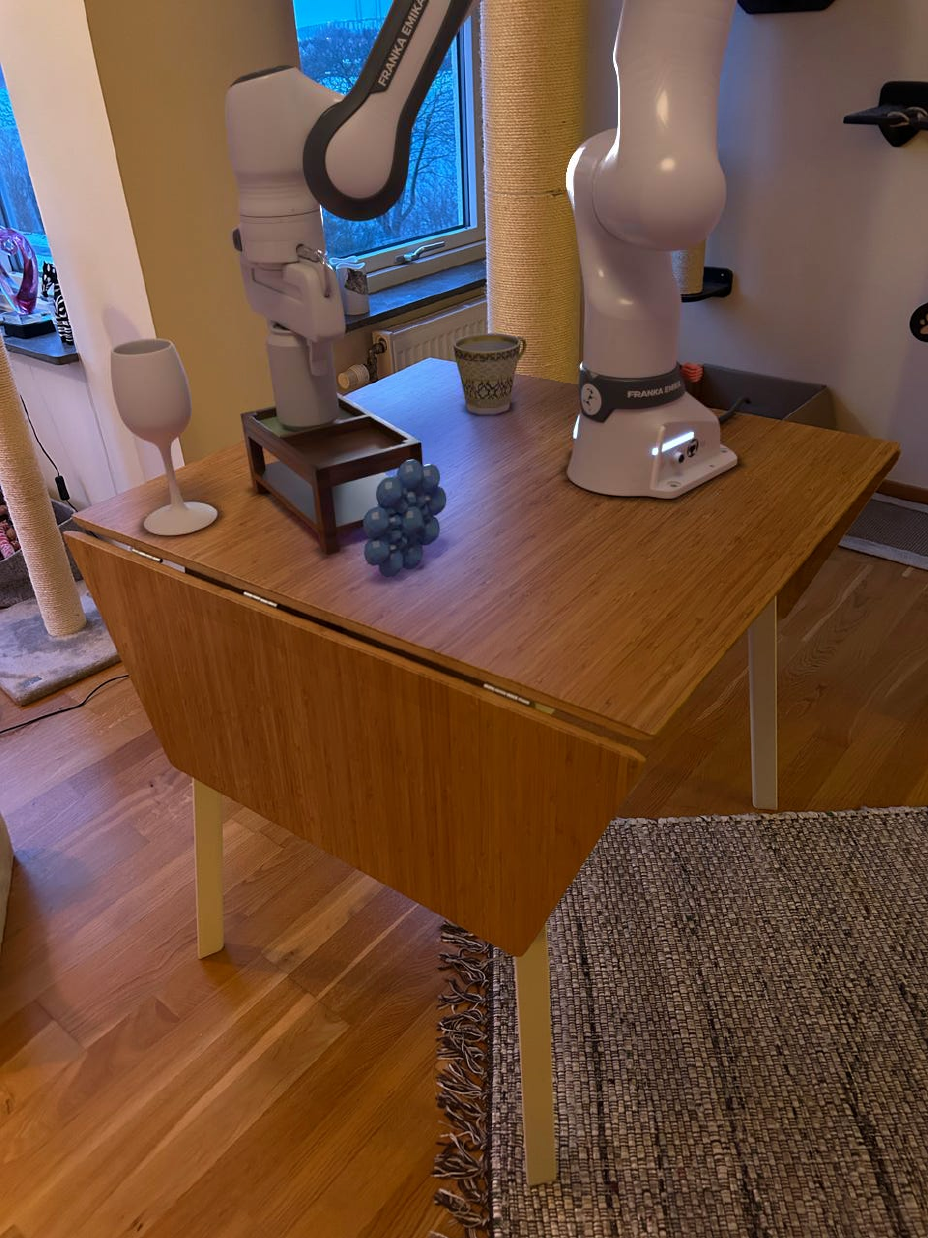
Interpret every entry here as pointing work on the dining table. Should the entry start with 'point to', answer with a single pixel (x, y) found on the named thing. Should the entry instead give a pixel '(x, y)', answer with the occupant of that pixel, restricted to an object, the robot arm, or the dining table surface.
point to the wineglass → (158, 420)
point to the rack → (327, 465)
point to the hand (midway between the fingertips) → (301, 364)
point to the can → (300, 382)
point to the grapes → (404, 518)
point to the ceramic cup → (488, 370)
